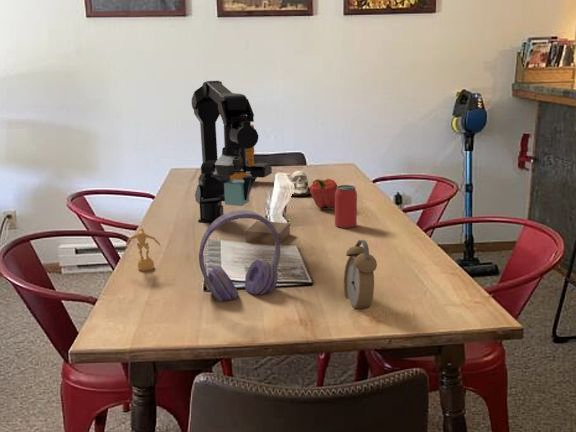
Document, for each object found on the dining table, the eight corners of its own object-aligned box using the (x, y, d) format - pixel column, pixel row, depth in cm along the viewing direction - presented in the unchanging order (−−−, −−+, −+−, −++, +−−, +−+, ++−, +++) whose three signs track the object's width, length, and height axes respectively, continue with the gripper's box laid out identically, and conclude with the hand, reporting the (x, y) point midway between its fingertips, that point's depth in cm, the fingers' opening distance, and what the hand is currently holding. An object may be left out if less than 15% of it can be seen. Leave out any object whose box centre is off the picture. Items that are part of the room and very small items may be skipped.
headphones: (207, 313, 134) (202, 222, 129) (197, 298, 142) (192, 212, 136) (287, 298, 141) (285, 211, 136) (273, 285, 148) (271, 202, 143)
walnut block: (246, 244, 178) (245, 231, 177) (257, 233, 187) (256, 221, 186) (280, 247, 176) (280, 233, 174) (289, 236, 185) (289, 223, 184)
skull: (320, 192, 227) (299, 173, 224) (300, 212, 230) (279, 194, 227) (317, 181, 238) (298, 163, 235) (298, 200, 241) (278, 183, 238)
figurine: (164, 268, 160) (161, 223, 156) (161, 277, 154) (157, 230, 151) (131, 269, 159) (127, 224, 156) (126, 278, 154) (122, 231, 150)
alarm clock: (341, 297, 141) (342, 233, 137) (363, 295, 142) (364, 231, 138) (356, 319, 130) (357, 250, 126) (379, 317, 131) (381, 248, 127)
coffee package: (226, 177, 260) (224, 123, 254) (256, 176, 260) (255, 122, 254) (224, 182, 250) (221, 126, 244) (255, 182, 250) (254, 126, 244)
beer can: (355, 229, 189) (356, 190, 186) (333, 228, 191) (333, 189, 187) (357, 222, 196) (358, 185, 192) (336, 221, 197) (336, 184, 193)
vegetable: (323, 212, 207) (323, 183, 204) (301, 206, 214) (301, 177, 212) (346, 206, 214) (347, 177, 211) (325, 201, 221) (325, 172, 218)
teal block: (224, 204, 173) (224, 183, 171) (232, 200, 177) (231, 179, 176) (241, 206, 171) (241, 184, 169) (249, 201, 176) (248, 180, 174)
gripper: (189, 146, 165) (192, 204, 170) (255, 149, 159) (257, 209, 164) (208, 139, 175) (211, 194, 180) (271, 142, 169) (273, 199, 174)
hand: (237, 199), depth 174 cm, fingers closed on teal block, 5 cm apart
